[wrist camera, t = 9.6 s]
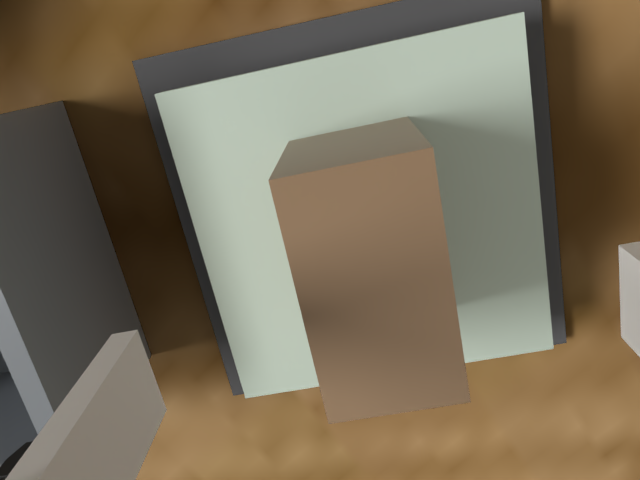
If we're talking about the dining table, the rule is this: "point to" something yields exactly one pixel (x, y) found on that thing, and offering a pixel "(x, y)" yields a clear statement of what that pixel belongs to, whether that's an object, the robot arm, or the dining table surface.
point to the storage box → (50, 272)
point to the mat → (333, 37)
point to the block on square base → (371, 216)
